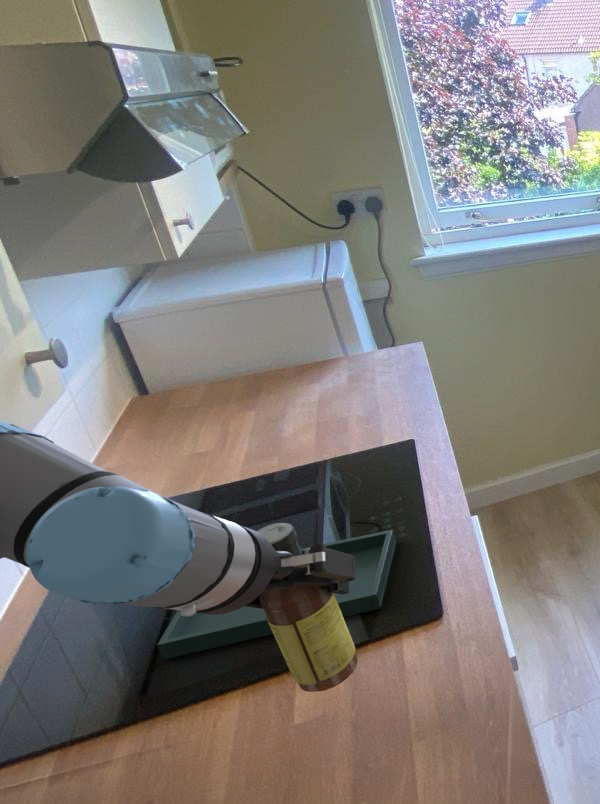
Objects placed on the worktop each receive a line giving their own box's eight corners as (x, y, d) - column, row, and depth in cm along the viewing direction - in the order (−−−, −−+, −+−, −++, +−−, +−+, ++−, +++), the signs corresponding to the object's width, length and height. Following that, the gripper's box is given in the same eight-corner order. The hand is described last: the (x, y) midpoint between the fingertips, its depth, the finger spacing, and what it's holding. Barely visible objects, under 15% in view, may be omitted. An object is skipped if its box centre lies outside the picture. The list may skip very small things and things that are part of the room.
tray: (164, 659, 96) (156, 645, 95) (208, 582, 109) (201, 569, 108) (380, 608, 103) (376, 594, 102) (396, 542, 117) (392, 529, 116)
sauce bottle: (364, 647, 87) (319, 508, 79) (353, 687, 82) (303, 543, 74) (301, 660, 85) (249, 520, 77) (286, 703, 80) (227, 557, 72)
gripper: (64, 642, 58) (211, 646, 79) (336, 582, 64) (406, 601, 85) (71, 547, 61) (211, 576, 81) (332, 498, 66) (401, 537, 87)
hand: (310, 589), depth 83 cm, fingers closed on sauce bottle, 6 cm apart
